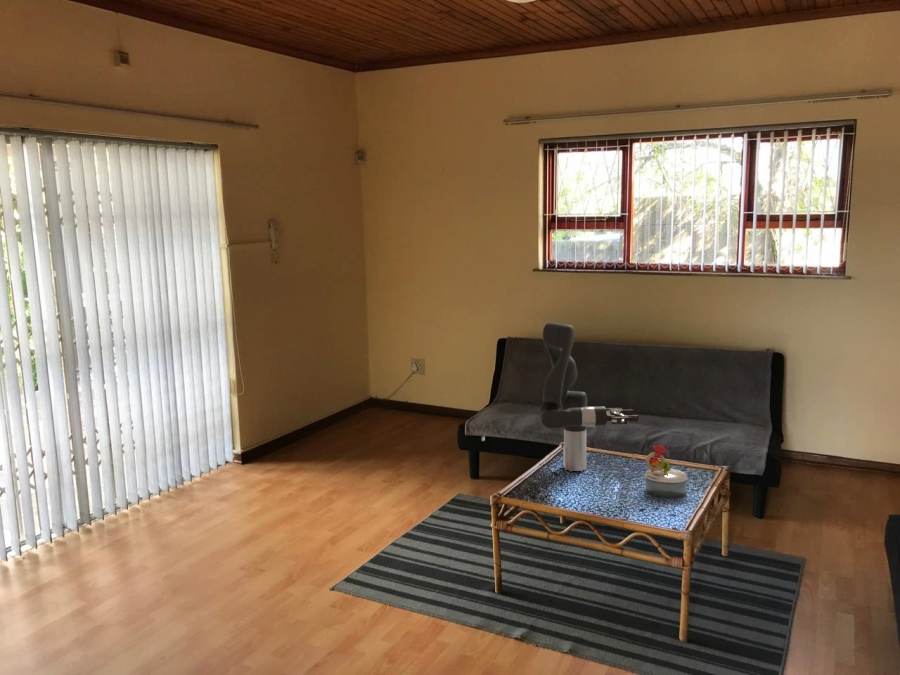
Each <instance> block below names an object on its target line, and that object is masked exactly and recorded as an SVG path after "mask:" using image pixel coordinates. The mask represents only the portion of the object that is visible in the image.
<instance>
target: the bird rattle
mask: <svg viewBox="0 0 900 675" xmlns="http://www.w3.org/2000/svg"><path fill="white" fill-rule="evenodd" d="M652 449H653V452H650V453H649V454H648V455H647V457H646V458H645V464H646V467H647V469H648V470H651V472H654V471H659V470H662V469H664V472H665V473H667V472H668V471H670V470H671V469H672V468H671V467H670V466H669V464H670V462H671V461H669V460H667V461H666V459H665V456H664V455H663V454H665V453H666V452H667V449H666V448H665V447H664V445H662V444H659V445H655V444H654V445H652Z"/></svg>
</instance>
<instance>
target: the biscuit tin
mask: <svg viewBox="0 0 900 675" xmlns="http://www.w3.org/2000/svg"><path fill="white" fill-rule="evenodd" d="M670 469H671V470H670V471H668V472H667V473H665V472H664V469H662V470H659V471H654V472H651V470H650V469H648V470H645V473H644V476H645V493H646V494H648V495H649V494H650V495H649V496H651V495H652V497H654V496H655V497H654V498H658V497H659V499H665V498H667V499H666V500H668V499H669V500H670V499H671V500H672V499H673V500H674V499H680V498H681V499H682V498H683V497H686V495H687V490H688V488H687V486H688V484H687V483H688V474H687V473H686V472H684V471H682V470H679V469H676V468H670Z"/></svg>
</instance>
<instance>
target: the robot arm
mask: <svg viewBox="0 0 900 675" xmlns="http://www.w3.org/2000/svg"><path fill="white" fill-rule="evenodd" d="M542 339H543V344H544V348H546V351H547V354H548V356H549V358H550V359H549V360H550V363H551V367H552V368H551V369H550V371H548V373H547V375H546V376H545V379H544V383H543V392H542V402H541V405H540V409H539V420H540V422H541V424H542V425H543V427H545V428H547V429H561V428H563V445H562V446H563V449H562V450H563V451H562V454H563V455H562V456H563V457H562V458H563V461H562V462H563V466H564V467H563V466H562V467H563V469H564V468H565V469H564V471H565V470H569V471H568V472H572V471H581V472H584V471H586V470H587V428H588V427H606V426H607V422H611V424H612V425H628V424H629V423H630V422H631V423H632V422H639V420H640V418H639V415H634V414H635V412H634V409H623V408H621V407H608V408H607V407H606V406H604V405H603V406H601V405H599V406H598V405H597V406H588V395H587V393H586V392H585V391H576V390H569V389H570V388H571V387H572V386H573V385H574V384H575V383H576V381H577V379H578V369H577V364H576V361H575V360H574V358H573V357H572V356H571V353H572V350H573V346H574V340H575V329H574V327H573V326H572V324H566V323H558V322H548V323H546V324H545V325H544V326H543V330H542ZM559 406H560V409H559ZM583 470H584V471H583Z"/></svg>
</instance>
